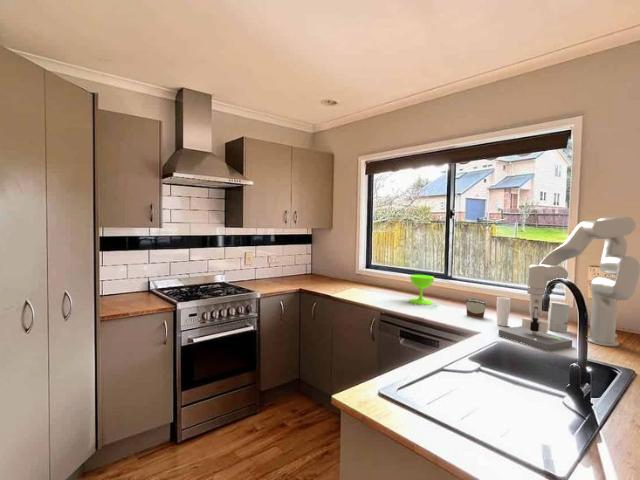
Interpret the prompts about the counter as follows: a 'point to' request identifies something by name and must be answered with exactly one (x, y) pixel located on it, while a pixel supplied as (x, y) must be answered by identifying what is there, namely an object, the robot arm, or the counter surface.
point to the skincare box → (558, 316)
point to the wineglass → (421, 287)
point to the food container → (475, 307)
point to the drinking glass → (503, 310)
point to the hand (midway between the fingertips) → (534, 329)
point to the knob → (542, 328)
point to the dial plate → (535, 338)
